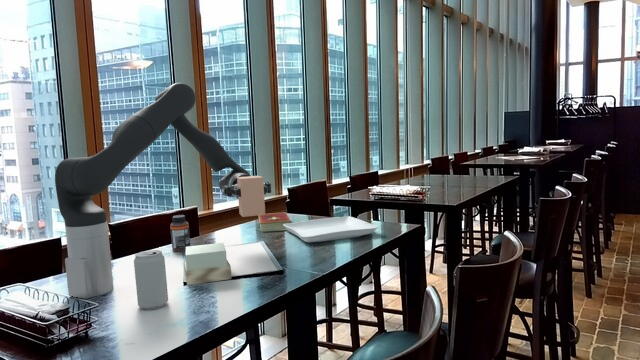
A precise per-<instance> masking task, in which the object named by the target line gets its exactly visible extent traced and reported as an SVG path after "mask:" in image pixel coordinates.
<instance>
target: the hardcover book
mask: <svg viewBox="0 0 640 360" xmlns="http://www.w3.org/2000/svg"><path fill="white" fill-rule="evenodd" d="M257 217H258V222H259V226H260V227H259V228H260V232H261V233H268V232H279V231H288V230H287V229H286V228H285V227H284V226H283V224H288V223H292V222H291V219H290V217H289V216H288V214H287V212H285V211H283V212H275V213H274V212H272V213H265V215H258V216H257Z"/></svg>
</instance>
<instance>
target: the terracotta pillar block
mask: <svg viewBox="0 0 640 360" xmlns="http://www.w3.org/2000/svg"><path fill="white" fill-rule="evenodd" d="M237 184H238V187H239V188H240V189H241V197H238V198H237V199H238V200H237V201H238V211H239V215H240V216H241V217H242V218H245V217H255V216H257V217H258V215H265V214H266V204H265V195H264V176H260V175H252V176H251V175H250V176H248V177H237Z"/></svg>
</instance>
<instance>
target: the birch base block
mask: <svg viewBox="0 0 640 360" xmlns="http://www.w3.org/2000/svg"><path fill="white" fill-rule="evenodd" d="M183 265H184V266H183V267H184V276H185V281H186V280H187V281H186V285H187V286H192V285H193V286H194V285H199V284H204V283H206V284H207V283H212V282H217V281H219V282H220V281H227V280H232V269H231V268H232V267H231V264H230V262H229V261H228V260H227V266H222V267H214V268H205V269H197V270H189V271H187V267H186V260H185V261H183Z"/></svg>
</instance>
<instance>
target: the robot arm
mask: <svg viewBox="0 0 640 360" xmlns="http://www.w3.org/2000/svg"><path fill="white" fill-rule="evenodd" d="M195 104H196V94H195V91H194V89H193V88H192V87H191V86H190V85H188V84H187V83H185V82H176V83H173V84H171V85H169V86H168V87H167V88H165V89H164V90H162V91H160V93H159V94H157V95H156V96H155V100H154V102H152V103H151V104H149V105H147V106H145V107H142V108H141V109H140V110H138V111H136V112H134V113H133V114H131V115H130V116H129V117H128V118H126V119H125V120H124V121H122V122H121V123H120V124H119V125H117V127H116V128H115V129H114V131H113V133H112V137H111V142H110V143H109V144H108V145H107V146H106V147H105V148H103V149H102V150H101V151H99V152H98V153H96V154H94V155H91V156H88V157H87V156H86V157H69V158H68V157H67V158H66V159H65V158H64V159H63V160H61V161H59V164H58V165H57V166H56V169H55V173H54V174H55V175H54V184H55V192H56V198H57V204H58V209H59V213H60V215H61V217H62V219H63V220H64V221H63V222H64V227H65V235H66V236H65V238H66V246H67V247H66V248H67V256H68V257H66V258H65V259H64V263H65V274H66V281H67V290H68V291H67V293H68V297H69V296H73V297H72V298H76V297H78V299H91V298H95V297H99V296H103V295H106V294H108V293H111V292H112V291H113V290H114V288H115V287H114V279H113V277H114V276H113V268H112V259H111V249H110V239H109V237H110V236H109V227H108V217H107V212H106V210H105V209H104V208H101V207H100V206H98V205H97V204H95V202H94V201H93V199H92V196H97V195H99V194H101V193H103V192H104V191H106V190H107V189H108V188H109V187H110V186H111V184H112V183H113V182H114V180H116V178H117V177H119V175H120V173H121V172H123V170H125V168H126V167H127V166H128V165H130V164H131V163H132V162H133V161H135V159H136V158H137V157H138V156H139V155H141V154H142V153H143V152H144V151H146V150H147V148H149V147H150V146H151V145H153V143H154V142H155V141H156V140H157V139H158V138H159V137H160V136H161V135H163V133H164V132H165V131H166V130H167V129H168V128H169V127H170V125H171V126H172V127H173V128H174V129H175V130H176V131H177V132H178V133H179V134H180V135H181V136H182V137H183V138H184V139H185V140H186V141H188V143H190V144H191V146H192V147H194V149H195V150H196V151H197V152H198V154H200V156H201V157H202V159H203V160H204V161H205V162H206V164H207V165H208V166H209V167H210V169H211V170H212V171H213V172H216V173H218V172H221V171H223V170H224V169H227V168H228V169H232V170H231V171H230V172H228V173H227V174H225V175H224V176H223V177H221V179H220V180H219V181H218V188H219V190H220V191H221V195H223V196H225V197H228V198H236V199H238V197H241V189H240V188H239V187H238V184H237V177H248V176H251V174H250V173H249V171H248V170H246V169H245V168H244V167H243V166H241V165H239V164H238V163H237V162H236V161H235V160H234V159H233V158H232V157H231V156H230V155H229V153H227V151H226V150H225V148H224V147H223V146H222V144H221V143H220V142H219V141H218V140H217V139H216V138H215V137H214V136H212V135H211V134H209V133H208V132H206V131H204V130H202V129H200V128H198V127H197V126H196V125H195V124H194V123H192V122H191V121H190V120H189V119H188V118H187V116H186V115H185V114H187V113H188V112H190V111H191V110H192V109H193V108H194V106H195ZM263 184H264V196H265V195H266V194H271V193H272V183H271V182H270V181H265V182H263Z"/></svg>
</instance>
